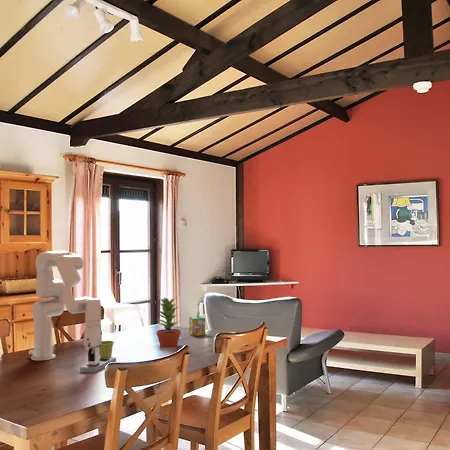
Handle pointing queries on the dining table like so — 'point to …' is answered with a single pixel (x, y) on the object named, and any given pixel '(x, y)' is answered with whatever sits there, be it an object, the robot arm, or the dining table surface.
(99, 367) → the grey slotted tray
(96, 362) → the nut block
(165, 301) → the potted plant
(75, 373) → the dining table surface
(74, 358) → the dining table surface
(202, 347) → the dining table surface
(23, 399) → the dining table surface
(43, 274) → the robot arm
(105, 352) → the plant pot
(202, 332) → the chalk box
